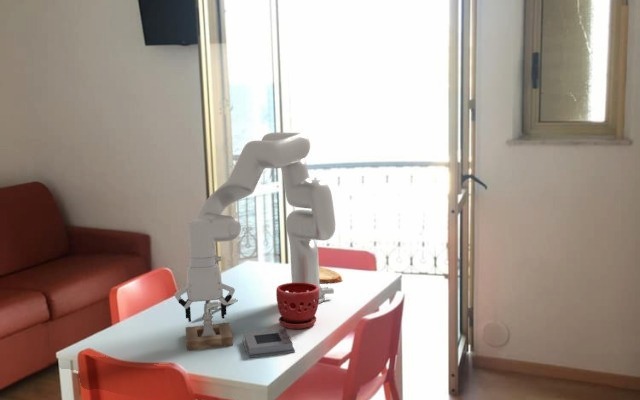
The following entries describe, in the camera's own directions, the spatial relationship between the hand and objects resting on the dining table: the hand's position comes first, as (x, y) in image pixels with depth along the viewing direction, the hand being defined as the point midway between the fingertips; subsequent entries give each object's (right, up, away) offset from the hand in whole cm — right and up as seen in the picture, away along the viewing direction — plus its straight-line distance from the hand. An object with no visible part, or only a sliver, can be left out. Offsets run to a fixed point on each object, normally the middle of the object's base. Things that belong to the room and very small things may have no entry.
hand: (206, 318), depth 199 cm
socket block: (+1, -7, +1) cm, 7 cm away
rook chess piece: (+1, -7, +1) cm, 7 cm away
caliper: (0, -3, +30) cm, 30 cm away
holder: (+19, -7, -6) cm, 21 cm away
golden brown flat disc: (+33, +4, +65) cm, 73 cm away
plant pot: (+27, -4, +12) cm, 30 cm away
